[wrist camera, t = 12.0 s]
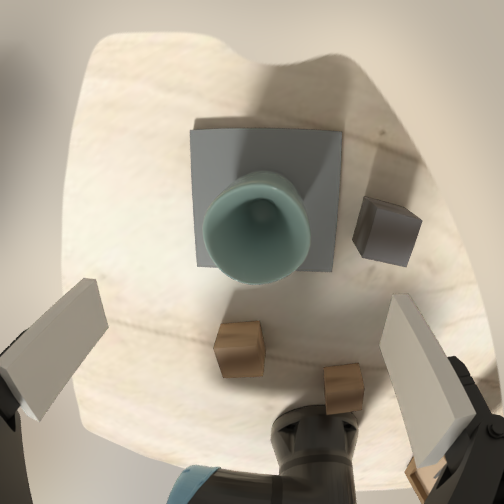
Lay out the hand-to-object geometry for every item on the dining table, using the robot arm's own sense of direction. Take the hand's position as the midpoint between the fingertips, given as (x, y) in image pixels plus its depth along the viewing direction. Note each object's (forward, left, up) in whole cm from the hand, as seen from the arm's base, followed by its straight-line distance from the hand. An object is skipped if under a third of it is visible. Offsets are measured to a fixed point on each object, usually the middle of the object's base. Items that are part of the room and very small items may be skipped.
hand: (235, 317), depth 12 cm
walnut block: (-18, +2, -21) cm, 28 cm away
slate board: (0, 0, -21) cm, 21 cm away
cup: (0, 0, -20) cm, 20 cm away
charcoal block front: (-2, -13, -21) cm, 24 cm away
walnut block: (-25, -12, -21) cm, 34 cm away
